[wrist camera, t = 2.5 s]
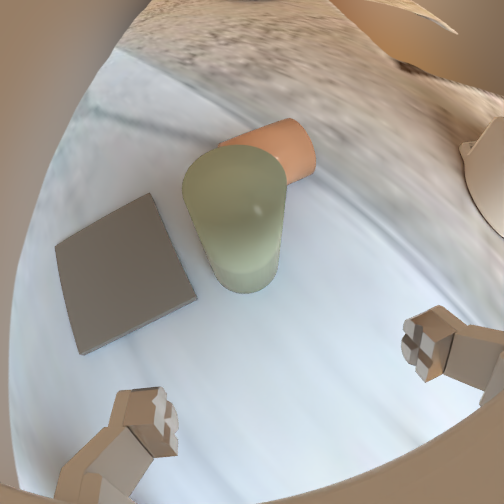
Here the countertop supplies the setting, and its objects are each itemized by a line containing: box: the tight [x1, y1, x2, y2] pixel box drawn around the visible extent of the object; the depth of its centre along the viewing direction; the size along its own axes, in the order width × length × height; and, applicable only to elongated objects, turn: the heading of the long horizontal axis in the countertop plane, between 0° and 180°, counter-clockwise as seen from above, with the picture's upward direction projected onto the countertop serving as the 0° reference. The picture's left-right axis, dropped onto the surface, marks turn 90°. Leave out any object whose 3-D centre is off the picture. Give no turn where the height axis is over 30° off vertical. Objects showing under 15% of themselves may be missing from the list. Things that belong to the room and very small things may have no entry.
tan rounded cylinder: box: [217, 118, 316, 185], centre depth 26 cm, size 7×6×6 cm
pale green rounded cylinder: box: [182, 145, 287, 294], centre depth 20 cm, size 6×6×11 cm
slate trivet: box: [55, 193, 198, 355], centre depth 25 cm, size 12×12×1 cm
